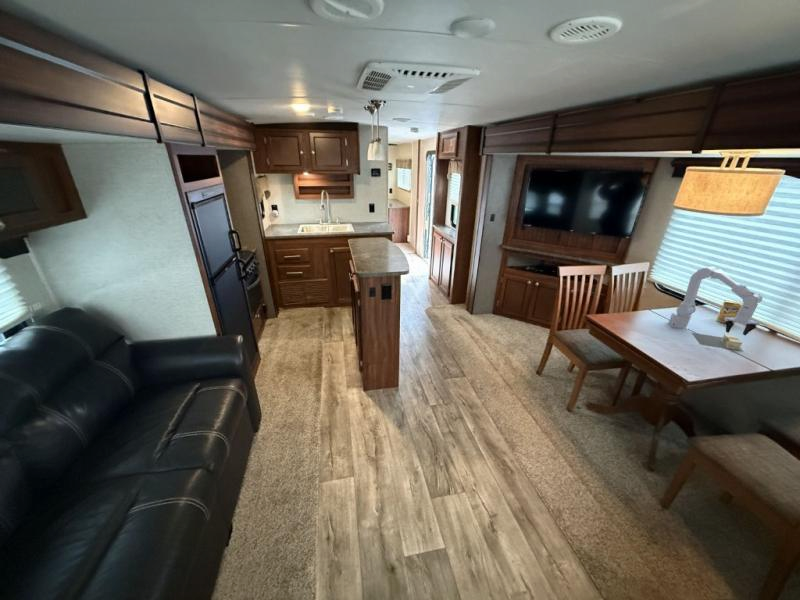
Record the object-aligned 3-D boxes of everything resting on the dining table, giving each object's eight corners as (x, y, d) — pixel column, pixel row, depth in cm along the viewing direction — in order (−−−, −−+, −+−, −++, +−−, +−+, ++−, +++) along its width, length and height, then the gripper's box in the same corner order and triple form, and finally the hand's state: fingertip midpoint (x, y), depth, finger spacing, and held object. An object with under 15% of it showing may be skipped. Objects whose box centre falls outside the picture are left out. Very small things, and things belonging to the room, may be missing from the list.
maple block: (721, 340, 192) (724, 334, 190) (732, 342, 190) (735, 335, 188) (727, 347, 185) (730, 341, 183) (738, 349, 183) (742, 343, 181)
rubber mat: (699, 344, 189) (700, 344, 189) (691, 332, 202) (691, 332, 202) (743, 352, 181) (743, 351, 181) (731, 339, 194) (731, 338, 194)
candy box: (716, 321, 216) (725, 301, 210) (715, 319, 219) (724, 299, 212) (733, 325, 210) (743, 305, 204) (733, 322, 213) (742, 303, 207)
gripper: (732, 313, 178) (722, 333, 184) (766, 318, 172) (755, 339, 178) (726, 309, 184) (717, 328, 190) (759, 313, 178) (749, 333, 184)
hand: (735, 333), depth 184 cm, fingers open, 7 cm apart
